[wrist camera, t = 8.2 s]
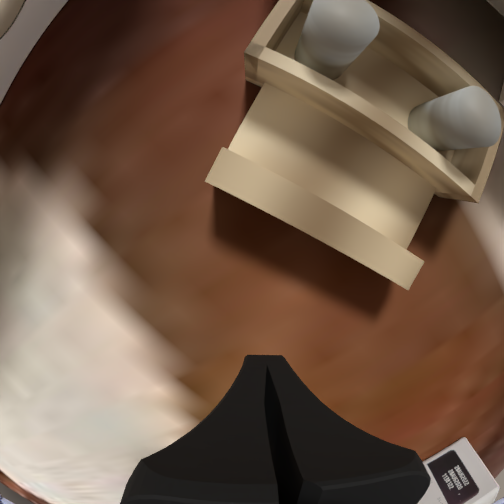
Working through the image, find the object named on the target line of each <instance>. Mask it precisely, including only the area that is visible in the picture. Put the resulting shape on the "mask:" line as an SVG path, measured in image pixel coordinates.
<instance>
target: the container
mask: <svg viewBox="0 0 504 504" xmlns="http://www.w3.org/2000/svg"><path fill="white" fill-rule="evenodd" d="M423 464H424V466H425V468H426V470H427V472H428V474H429V476H430V477H431V481H430V486H429V487H428V489H427V491H426V493H425V494H424V496H423V497H422V498H421V500H420V501H419V502H418V503H417V504H492V503H494V502H495V499H496V497H497V494H498V491H499V485H498V484H497V482H496V481H495V479H494V478H493V476H492V475H491V473H490V472H489V470H488V469H487V467H486V466H485V464H484V463H483V462H482V460H481V459H480V457H479V456H478V454H477V453H476V451H475V450H474V449H473V447H472V446H471V444H470V443H469V442H468V440H467V439H466V438H465V437H462V438H461V439H459V440H457V441H456V442H454V443H453V444H451V445H450V446H448V447H446V448H445V449H443V450H442V451H440V452H438V453H437V454H435V455H433V456H431V457H430V458H428V459H426V460H424V461H423Z"/></svg>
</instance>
